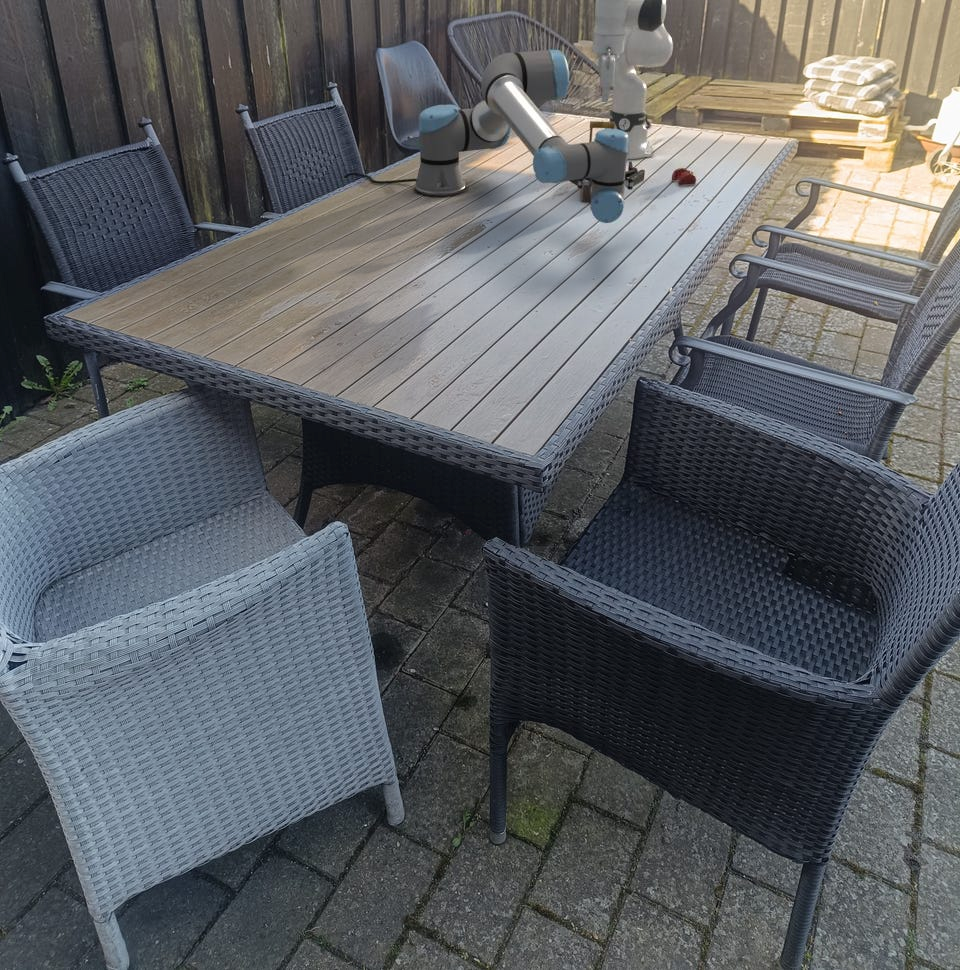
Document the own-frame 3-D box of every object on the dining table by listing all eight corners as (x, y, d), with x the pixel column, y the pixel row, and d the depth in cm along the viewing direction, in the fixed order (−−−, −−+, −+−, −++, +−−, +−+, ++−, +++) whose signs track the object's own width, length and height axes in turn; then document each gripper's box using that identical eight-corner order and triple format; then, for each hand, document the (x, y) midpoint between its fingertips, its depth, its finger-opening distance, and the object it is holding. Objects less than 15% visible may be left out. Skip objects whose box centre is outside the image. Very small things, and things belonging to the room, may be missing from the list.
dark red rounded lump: (687, 164, 265) (698, 171, 259) (685, 177, 268) (697, 185, 262) (670, 166, 264) (681, 173, 258) (669, 179, 267) (680, 187, 261)
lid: (584, 150, 257) (586, 119, 251) (615, 151, 256) (618, 120, 251) (584, 165, 243) (586, 133, 238) (617, 166, 242) (620, 133, 237)
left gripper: (554, 203, 209) (556, 179, 226) (655, 206, 207) (649, 181, 224) (555, 172, 205) (557, 150, 222) (659, 175, 203) (653, 152, 220)
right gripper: (621, 51, 229) (616, 105, 237) (618, 39, 245) (614, 91, 253) (597, 50, 229) (593, 105, 237) (596, 39, 246) (593, 90, 254)
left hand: (603, 166), depth 223 cm, fingers open, 13 cm apart
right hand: (604, 98), depth 245 cm, fingers open, 8 cm apart
